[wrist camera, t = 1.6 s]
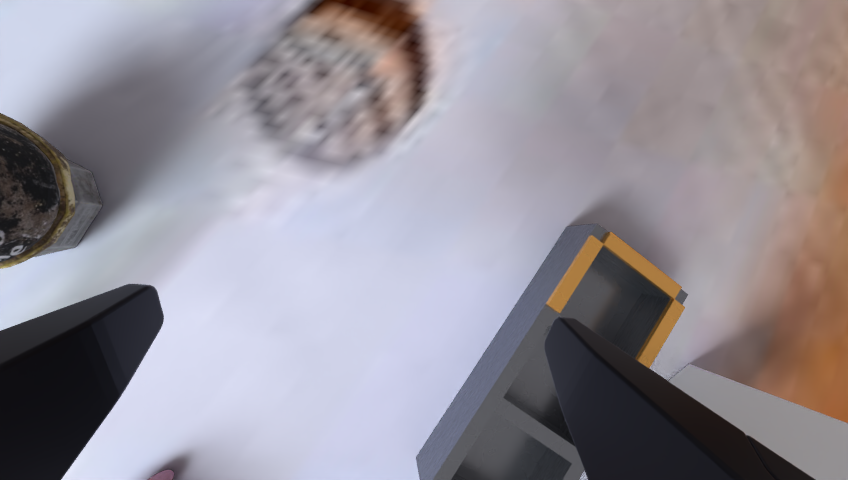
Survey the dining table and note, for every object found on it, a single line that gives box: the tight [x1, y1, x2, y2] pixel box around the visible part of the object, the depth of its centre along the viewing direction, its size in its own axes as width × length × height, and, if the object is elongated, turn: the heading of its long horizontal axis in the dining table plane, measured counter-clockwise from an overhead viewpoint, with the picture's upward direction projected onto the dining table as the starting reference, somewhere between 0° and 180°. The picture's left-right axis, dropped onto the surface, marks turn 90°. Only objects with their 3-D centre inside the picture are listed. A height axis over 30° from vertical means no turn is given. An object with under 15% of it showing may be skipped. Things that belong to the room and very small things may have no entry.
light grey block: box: [669, 364, 848, 480], centre depth 20 cm, size 4×5×12 cm
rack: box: [416, 224, 688, 480], centre depth 23 cm, size 20×8×4 cm, turn 145°
